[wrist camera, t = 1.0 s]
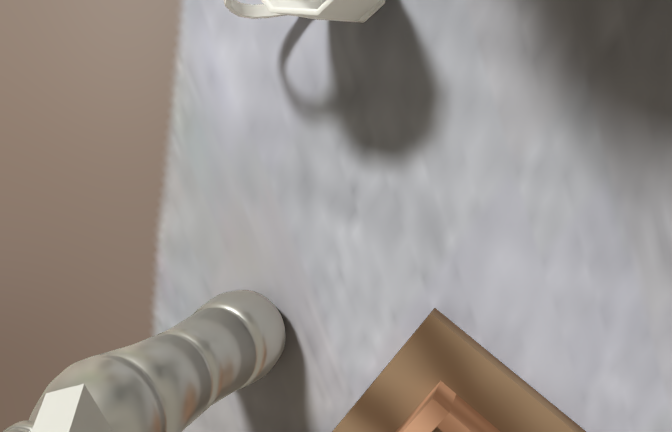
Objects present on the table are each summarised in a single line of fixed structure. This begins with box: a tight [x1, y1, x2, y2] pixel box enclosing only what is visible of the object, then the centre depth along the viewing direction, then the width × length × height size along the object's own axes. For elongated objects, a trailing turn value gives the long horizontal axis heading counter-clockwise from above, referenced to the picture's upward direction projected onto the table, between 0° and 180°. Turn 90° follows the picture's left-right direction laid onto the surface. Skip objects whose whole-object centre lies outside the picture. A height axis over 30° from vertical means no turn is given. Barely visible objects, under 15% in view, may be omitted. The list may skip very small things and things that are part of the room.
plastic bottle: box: [3, 290, 286, 432], centre depth 30 cm, size 6×7×20 cm
